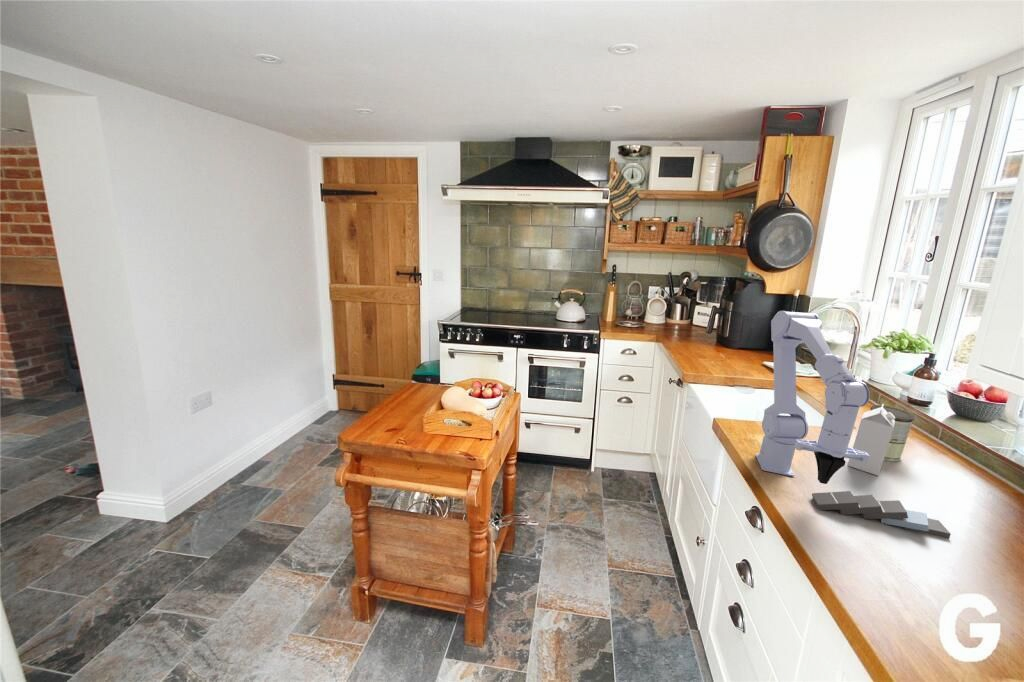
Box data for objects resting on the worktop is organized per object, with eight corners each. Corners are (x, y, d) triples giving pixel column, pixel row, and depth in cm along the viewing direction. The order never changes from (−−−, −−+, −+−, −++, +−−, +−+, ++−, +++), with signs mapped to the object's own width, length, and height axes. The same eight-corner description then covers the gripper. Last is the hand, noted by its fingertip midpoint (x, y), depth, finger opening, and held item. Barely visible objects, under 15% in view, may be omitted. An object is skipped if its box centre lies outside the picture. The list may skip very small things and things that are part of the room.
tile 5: (907, 524, 101) (950, 533, 98) (897, 511, 105) (938, 520, 103) (905, 529, 101) (948, 539, 99) (895, 516, 106) (936, 526, 103)
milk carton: (847, 466, 128) (865, 405, 123) (850, 458, 133) (867, 399, 128) (878, 476, 124) (898, 414, 119) (880, 467, 129) (899, 407, 124)
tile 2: (840, 508, 104) (881, 506, 101) (832, 497, 109) (871, 494, 106) (841, 514, 104) (882, 512, 102) (834, 503, 109) (872, 500, 106)
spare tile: (881, 517, 102) (928, 525, 97) (880, 505, 106) (926, 513, 101) (881, 523, 102) (928, 531, 97) (880, 511, 106) (926, 519, 101)
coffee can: (851, 446, 141) (863, 405, 137) (873, 443, 144) (885, 404, 141) (886, 463, 132) (900, 420, 128) (908, 460, 135) (923, 417, 131)
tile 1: (818, 504, 105) (858, 502, 103) (811, 493, 110) (849, 490, 107) (819, 510, 106) (859, 508, 103) (812, 498, 110) (850, 496, 107)
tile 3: (863, 512, 103) (906, 512, 99) (857, 501, 107) (899, 500, 104) (864, 518, 103) (908, 518, 99) (858, 507, 108) (900, 506, 104)
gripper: (806, 430, 101) (793, 483, 105) (881, 444, 97) (864, 497, 101) (797, 419, 108) (785, 468, 111) (867, 430, 104) (851, 481, 107)
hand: (822, 481), depth 107 cm, fingers closed
